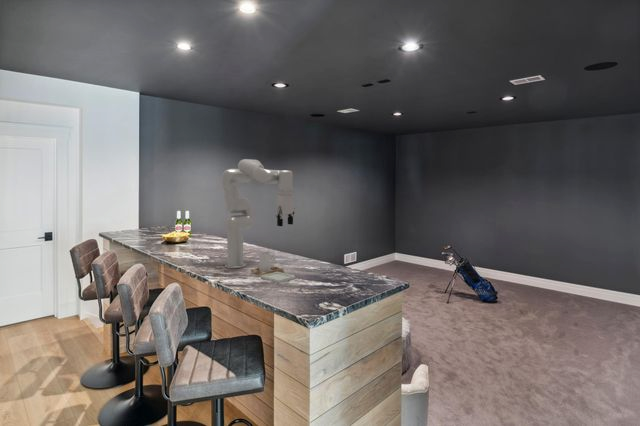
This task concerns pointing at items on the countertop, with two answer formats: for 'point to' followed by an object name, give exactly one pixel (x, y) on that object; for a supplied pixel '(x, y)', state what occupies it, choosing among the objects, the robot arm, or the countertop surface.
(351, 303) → the countertop surface
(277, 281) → the tray
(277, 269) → the holder frame
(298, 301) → the countertop surface
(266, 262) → the mug
